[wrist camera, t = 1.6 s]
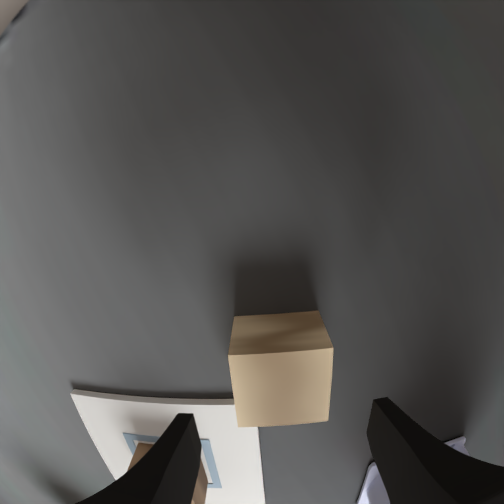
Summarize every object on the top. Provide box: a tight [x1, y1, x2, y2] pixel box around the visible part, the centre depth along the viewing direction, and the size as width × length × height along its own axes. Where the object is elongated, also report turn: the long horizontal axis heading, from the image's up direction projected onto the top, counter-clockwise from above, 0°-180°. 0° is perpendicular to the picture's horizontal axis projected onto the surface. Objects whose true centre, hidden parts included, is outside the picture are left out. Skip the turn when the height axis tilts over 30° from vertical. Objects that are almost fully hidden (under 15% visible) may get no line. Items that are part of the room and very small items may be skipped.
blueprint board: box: [70, 389, 265, 504], centre depth 20 cm, size 13×13×1 cm
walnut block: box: [127, 443, 208, 504], centre depth 17 cm, size 4×4×4 cm
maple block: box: [228, 311, 333, 427], centre depth 16 cm, size 4×4×4 cm
